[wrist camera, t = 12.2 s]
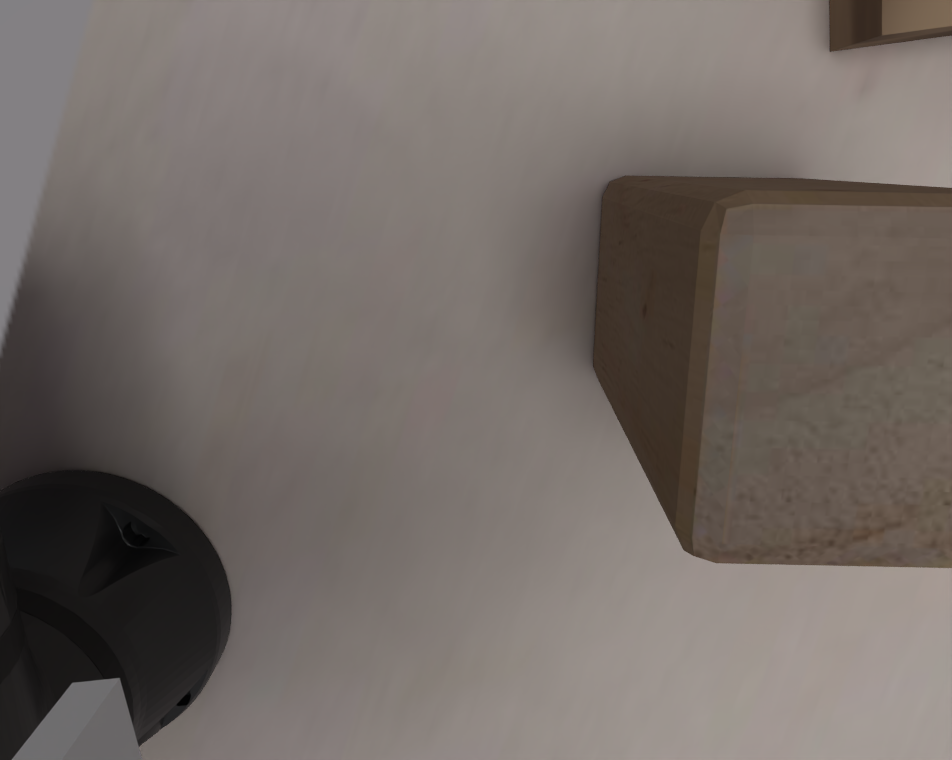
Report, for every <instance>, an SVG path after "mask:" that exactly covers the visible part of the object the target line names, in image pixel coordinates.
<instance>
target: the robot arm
mask: <svg viewBox="0 0 952 760" xmlns="http://www.w3.org/2000/svg"><path fill="white" fill-rule="evenodd" d="M230 624H231V599H230V592H229V587H228V583H227V579H226V576H225V573H224V570H223V567H222V565H221V563H220V560H219V558H218V556H217V554H216V553H215V551H214V549H213V547H212V546H211V544H210V543H209V541H208V540H207V538H206V537H205V535H204V534H203V533H202V532H201V530H200V529H199V528H198V527H197V526H196V524H195V523H194V522H193V521H192V520H191V519H190V518H189V517H188V516H187V515H186V514H184V513H183V512H182V511H181V510H180V509H179V508H177V507H176V506H175V505H174V504H172V503H171V502H169V501H168V500H167V499H165V498H164V497H162V496H160V495H159V494H157V493H155V492H154V491H152V490H150V489H148V488H146V487H144V486H142V485H139V484H137V483H135V482H132V481H129V480H127V479H124V478H121V477H117V476H113V475H109V474H104V473H99V472H91V471H56V472H50V473H44V474H40V475H36V476H32V477H29V478H26V479H24V480H21V481H19V482H16V483H14V484H12V485H10V486H8V487H7V488H5V489H3V490H2V491H0V760H142V757H141V753H140V750H139V746H140V745H142V744H143V743H144V742H145V741H147V740H148V739H149V738H151V737H152V736H153V735H155V734H156V733H157V732H158V731H159V730H160V729H161V728H163V727H165V726H166V725H168V724H169V723H170V722H172V721H173V720H174V719H175V718H177V717H178V716H179V715H180V714H181V713H183V712H184V711H185V710H186V709H187V708H188V707H189V706H190V705H191V704H192V702H193V701H194V700H195V699H196V698H197V696H198V695H199V694H200V693H201V691H202V690H203V688H204V687H205V685H206V683H207V682H208V680H209V678H210V676H211V674H212V672H213V670H214V669H215V667H216V665H217V663H218V661H219V659H220V657H221V655H222V653H223V651H224V648H225V645H226V642H227V639H228V635H229V630H230Z"/></svg>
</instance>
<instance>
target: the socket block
mask: <svg viewBox="0 0 952 760" xmlns="http://www.w3.org/2000/svg"><path fill="white" fill-rule="evenodd" d="M950 35H952V0H830V52H831V51H838V50H845V49H853V48H860V47H868V46H875V45H883V44H890V43H898V42H905V41H912V40H920V39H927V38H935V37H942V36H950Z"/></svg>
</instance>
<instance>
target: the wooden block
mask: <svg viewBox="0 0 952 760" xmlns="http://www.w3.org/2000/svg"><path fill="white" fill-rule="evenodd" d="M593 367H594V369H595V372H596V375H597V377H598V380H599V382H600V384H601V386H602V388H603V390H604V392H605V394H606V396H607V398H608V400H609V402H610V404H611V406H612V408H613V410H614V412H615V414H616V416H617V418H618V420H619V422H620V424H621V426H622V428H623V430H624V432H625V434H626V436H627V438H628V440H629V442H630V444H631V446H632V448H633V450H634V452H635V454H636V456H637V458H638V460H639V462H640V464H641V466H642V468H643V470H644V472H645V474H646V476H647V478H648V480H649V482H650V484H651V486H652V488H653V490H654V492H655V494H656V496H657V498H658V500H659V502H660V504H661V506H662V508H663V510H664V512H665V514H666V516H667V518H668V520H669V522H670V524H671V526H672V528H673V530H674V532H675V534H676V536H677V538H678V540H679V542H680V544H681V546H682V548H683V550H684V551H686V552H688V553H690V554H691V555H693V556H696V557H699V558H702V559H705V560H708V561H711V562H715V563H737V564H786V565H834V566H883V567H931V568H952V188H944V187H928V186H912V185H896V184H880V183H864V182H848V181H832V180H816V179H797V178H735V177H674V176H624V177H621V178H619V179H616V180H614V181H611V182H609V185H608V187H607V189H606V191H605V193H604V195H603V197H602V214H601V232H600V251H599V269H598V287H597V305H596V324H595V342H594V360H593Z"/></svg>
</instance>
